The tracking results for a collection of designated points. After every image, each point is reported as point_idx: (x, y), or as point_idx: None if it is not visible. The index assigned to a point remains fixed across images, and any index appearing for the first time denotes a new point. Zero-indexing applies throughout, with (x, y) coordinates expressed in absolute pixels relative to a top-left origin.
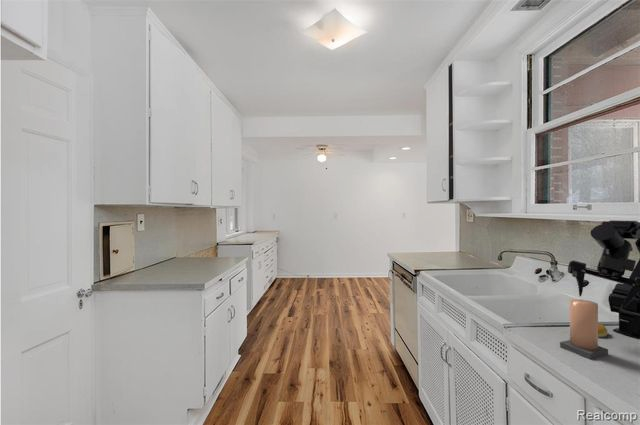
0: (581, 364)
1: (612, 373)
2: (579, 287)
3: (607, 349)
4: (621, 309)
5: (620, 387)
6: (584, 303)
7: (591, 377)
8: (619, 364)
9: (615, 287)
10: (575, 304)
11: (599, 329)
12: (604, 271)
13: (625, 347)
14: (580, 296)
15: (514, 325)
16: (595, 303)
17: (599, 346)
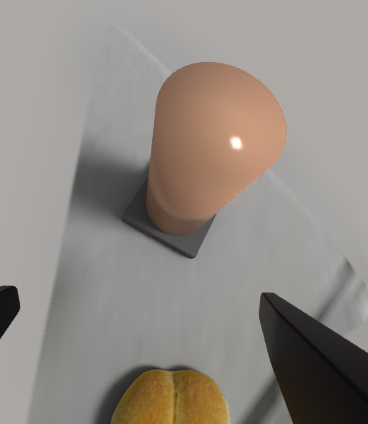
0: None
1: (123, 114)
2: (325, 327)
3: (123, 214)
4: (17, 302)
5: (116, 65)
6: (217, 93)
7: (158, 78)
8: (104, 171)
9: None
10: (249, 81)
11: (136, 399)
12: None
13: (69, 327)
14: (261, 310)
15: (345, 291)
16: (168, 127)
17: (141, 225)
